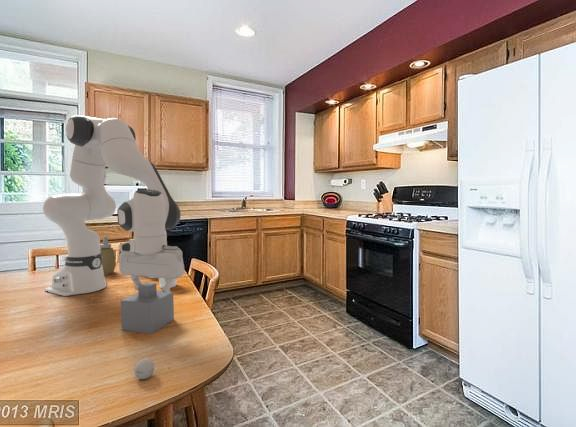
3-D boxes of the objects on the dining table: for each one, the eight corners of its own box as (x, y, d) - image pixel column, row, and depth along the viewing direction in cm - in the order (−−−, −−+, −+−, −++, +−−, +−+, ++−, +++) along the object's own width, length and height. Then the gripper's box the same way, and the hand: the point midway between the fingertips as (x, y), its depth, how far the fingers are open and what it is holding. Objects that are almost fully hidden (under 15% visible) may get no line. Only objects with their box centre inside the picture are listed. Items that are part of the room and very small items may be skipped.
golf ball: (133, 385, 65) (133, 366, 64) (134, 374, 68) (134, 357, 68) (154, 380, 66) (154, 362, 66) (154, 370, 70) (154, 353, 69)
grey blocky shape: (121, 329, 90) (119, 288, 89) (146, 316, 100) (144, 278, 99) (151, 334, 87) (150, 291, 87) (174, 319, 97) (172, 280, 96)
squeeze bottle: (102, 276, 147) (100, 238, 145) (93, 273, 151) (91, 237, 150) (119, 272, 153) (118, 236, 152) (110, 270, 158) (109, 235, 156)
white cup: (171, 289, 127) (170, 265, 126) (154, 288, 128) (153, 264, 128) (181, 283, 135) (180, 261, 134) (165, 282, 136) (164, 260, 135)
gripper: (188, 244, 92) (189, 290, 93) (130, 241, 97) (132, 285, 98) (175, 248, 86) (176, 297, 87) (114, 245, 91) (116, 291, 92)
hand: (152, 290), depth 93 cm, fingers open, 8 cm apart
